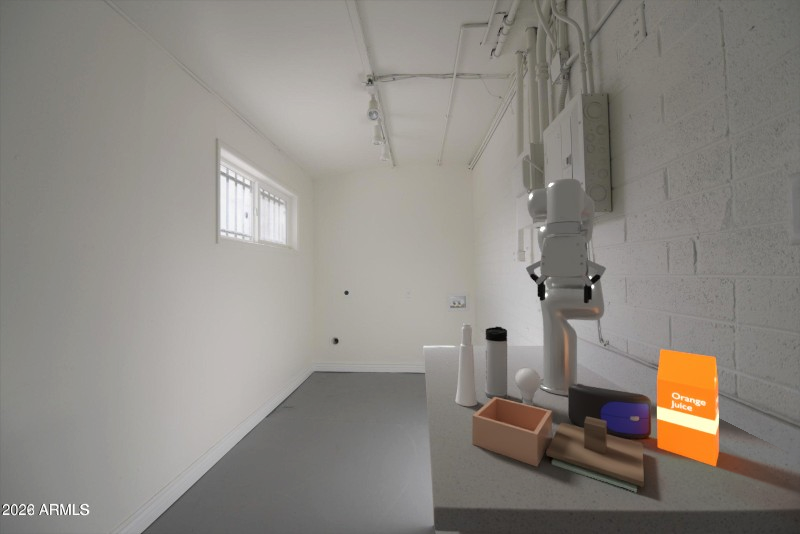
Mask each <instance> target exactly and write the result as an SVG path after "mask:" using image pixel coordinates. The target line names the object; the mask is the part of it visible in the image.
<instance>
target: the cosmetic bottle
mask: <svg viewBox="0 0 800 534" xmlns="http://www.w3.org/2000/svg"><path fill="white" fill-rule="evenodd" d="M471 325H472V324H470V323H467V322H464V323H462V326H461V343H460V344H459V353H458V354H459V357H458V358H459V359H458V376H457V387H456V389H457V390H456V395H455V402H456V404H457V405H460V406H463V407H474V406H476V405H478V399H477V391H476V380H475V359H474V358H475V357H474V345H473V344H472V342H473V340H472V339H473V338H472V331H473V330H472V327H471Z"/></svg>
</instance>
